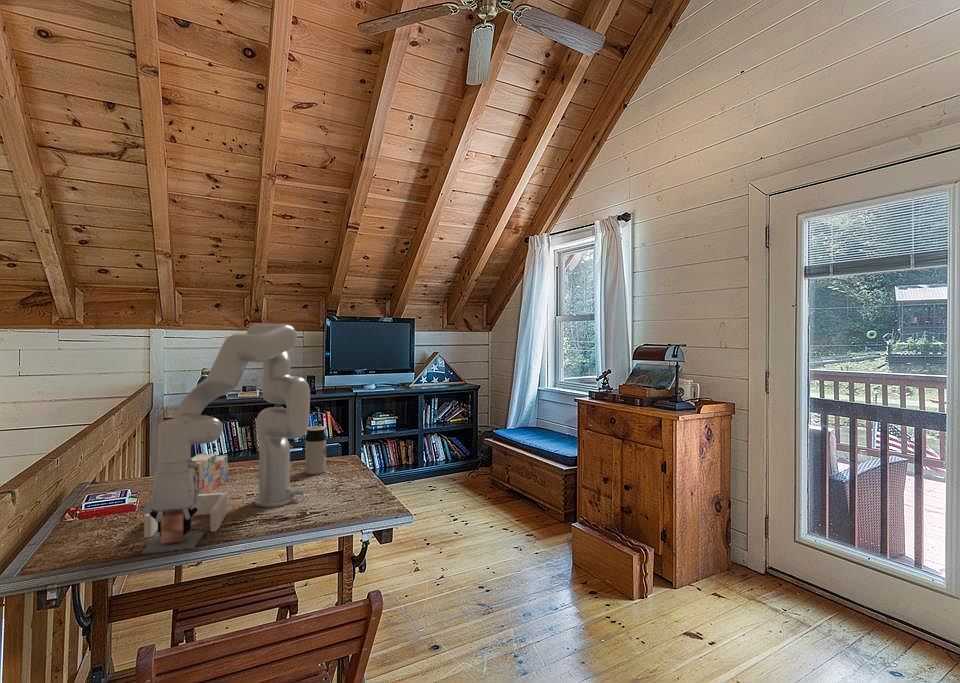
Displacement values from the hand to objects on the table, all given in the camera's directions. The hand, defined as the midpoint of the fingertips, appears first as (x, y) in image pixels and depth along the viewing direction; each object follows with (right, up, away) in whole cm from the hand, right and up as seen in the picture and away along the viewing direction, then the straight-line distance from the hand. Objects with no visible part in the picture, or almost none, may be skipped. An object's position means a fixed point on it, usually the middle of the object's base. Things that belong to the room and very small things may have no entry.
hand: (174, 532), depth 133 cm
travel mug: (+16, -2, +67) cm, 69 cm away
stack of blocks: (-17, -2, +45) cm, 48 cm away
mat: (0, -3, 0) cm, 3 cm away
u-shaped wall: (-4, -2, +13) cm, 14 cm away
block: (0, -1, 0) cm, 1 cm away
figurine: (+3, -1, +68) cm, 68 cm away
